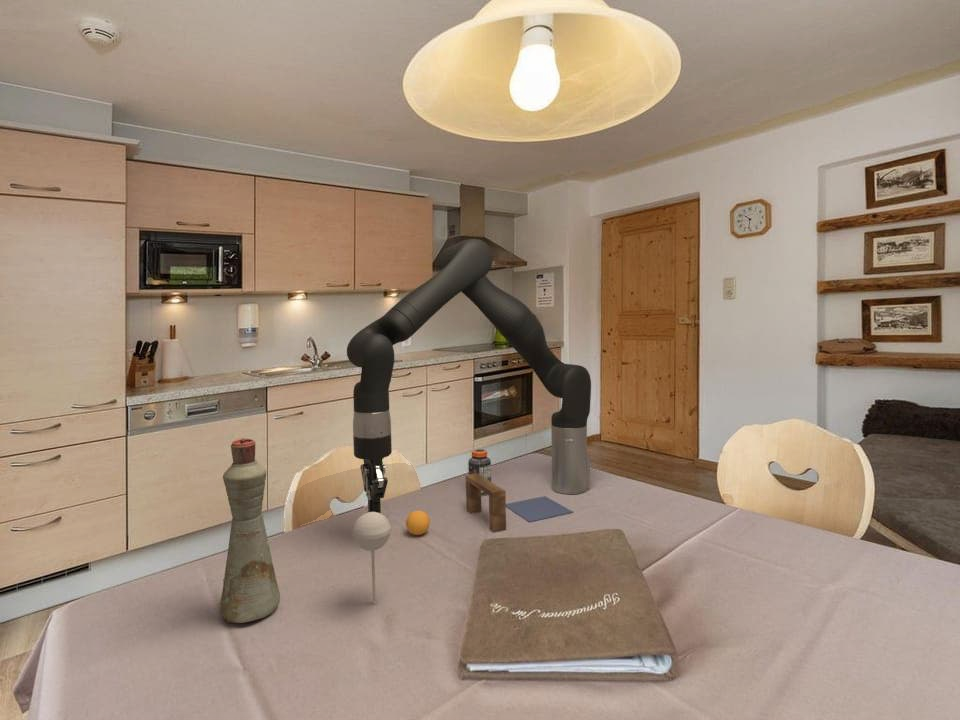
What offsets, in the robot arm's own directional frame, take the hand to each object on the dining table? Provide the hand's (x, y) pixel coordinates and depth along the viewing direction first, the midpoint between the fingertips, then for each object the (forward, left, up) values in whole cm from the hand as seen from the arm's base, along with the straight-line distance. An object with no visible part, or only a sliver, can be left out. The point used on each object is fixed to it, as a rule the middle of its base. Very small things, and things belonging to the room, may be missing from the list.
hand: (374, 515), depth 104 cm
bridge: (-25, 0, -6) cm, 26 cm away
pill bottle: (-32, -17, -6) cm, 37 cm away
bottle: (+24, +15, -6) cm, 29 cm away
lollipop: (+6, +22, -6) cm, 24 cm away
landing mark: (-39, 0, -6) cm, 40 cm away
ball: (-9, 0, -3) cm, 10 cm away
